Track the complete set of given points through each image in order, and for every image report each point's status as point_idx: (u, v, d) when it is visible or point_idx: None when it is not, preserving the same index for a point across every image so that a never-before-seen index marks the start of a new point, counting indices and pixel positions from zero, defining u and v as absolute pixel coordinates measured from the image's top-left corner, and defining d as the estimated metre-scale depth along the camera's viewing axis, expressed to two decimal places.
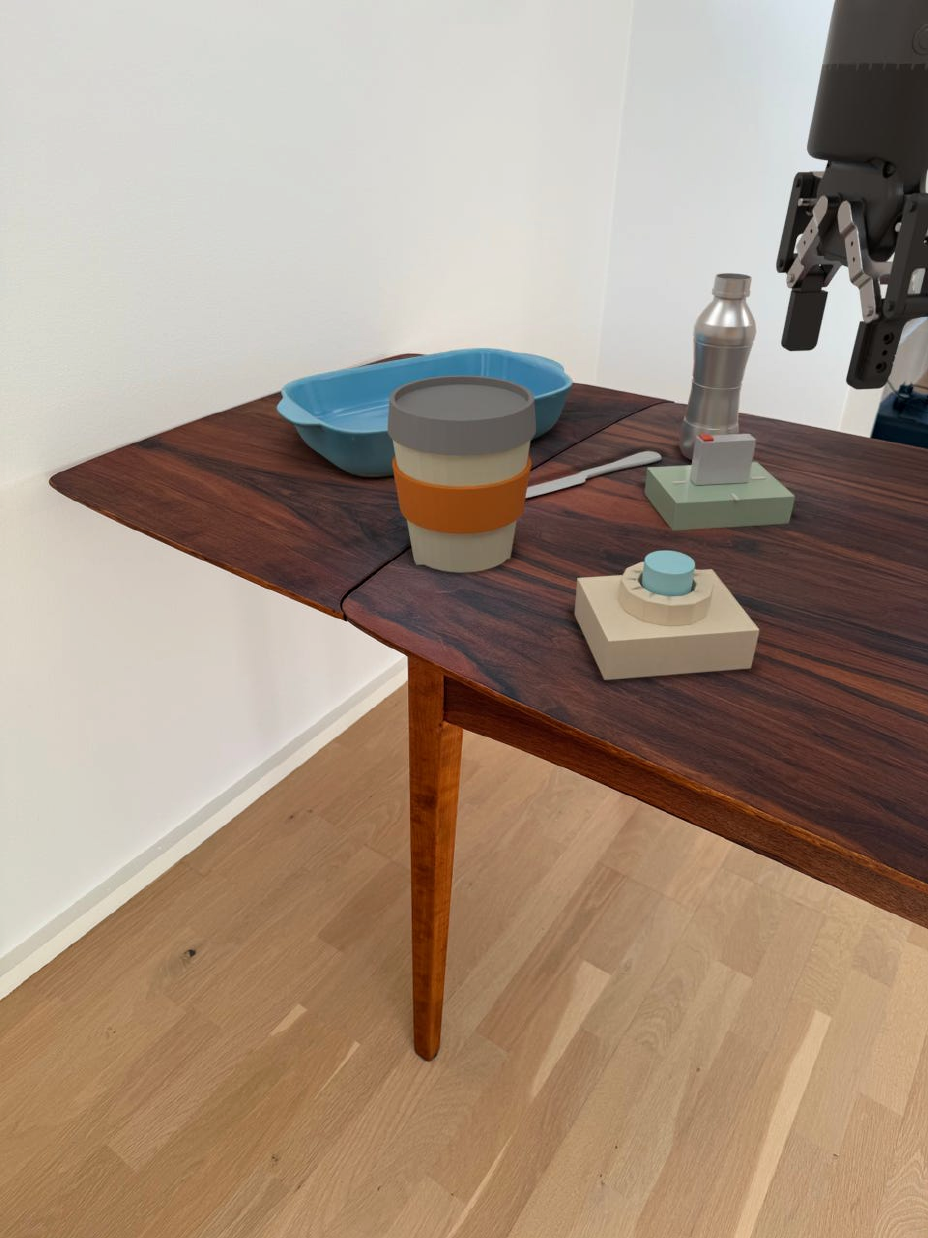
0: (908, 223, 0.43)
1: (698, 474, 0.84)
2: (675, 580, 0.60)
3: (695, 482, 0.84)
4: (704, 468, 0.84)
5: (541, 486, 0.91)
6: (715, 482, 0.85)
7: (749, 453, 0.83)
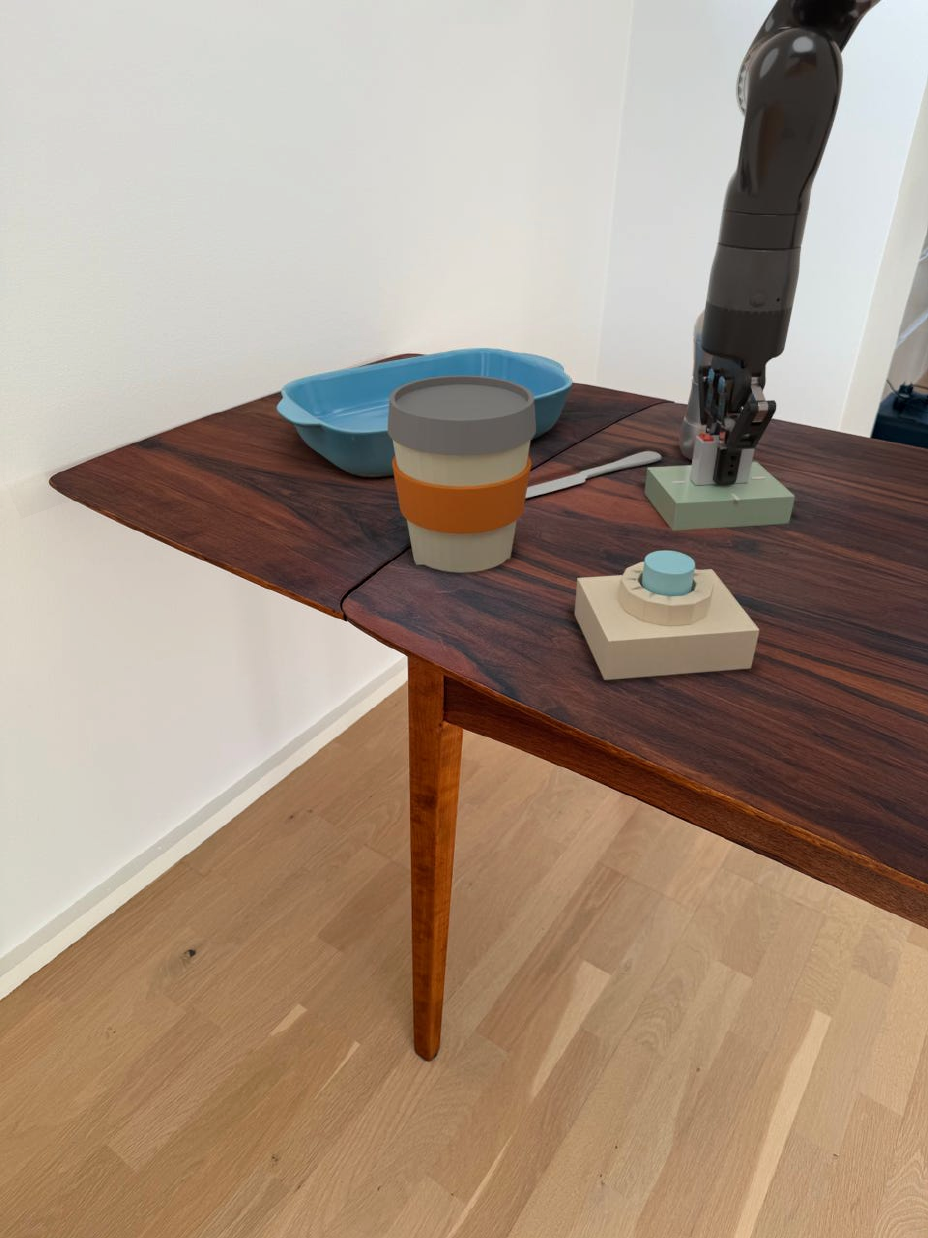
0: (744, 414, 0.76)
1: (698, 474, 0.84)
2: (675, 580, 0.60)
3: (695, 482, 0.84)
4: (704, 468, 0.84)
5: (541, 486, 0.91)
6: None
7: (749, 453, 0.83)
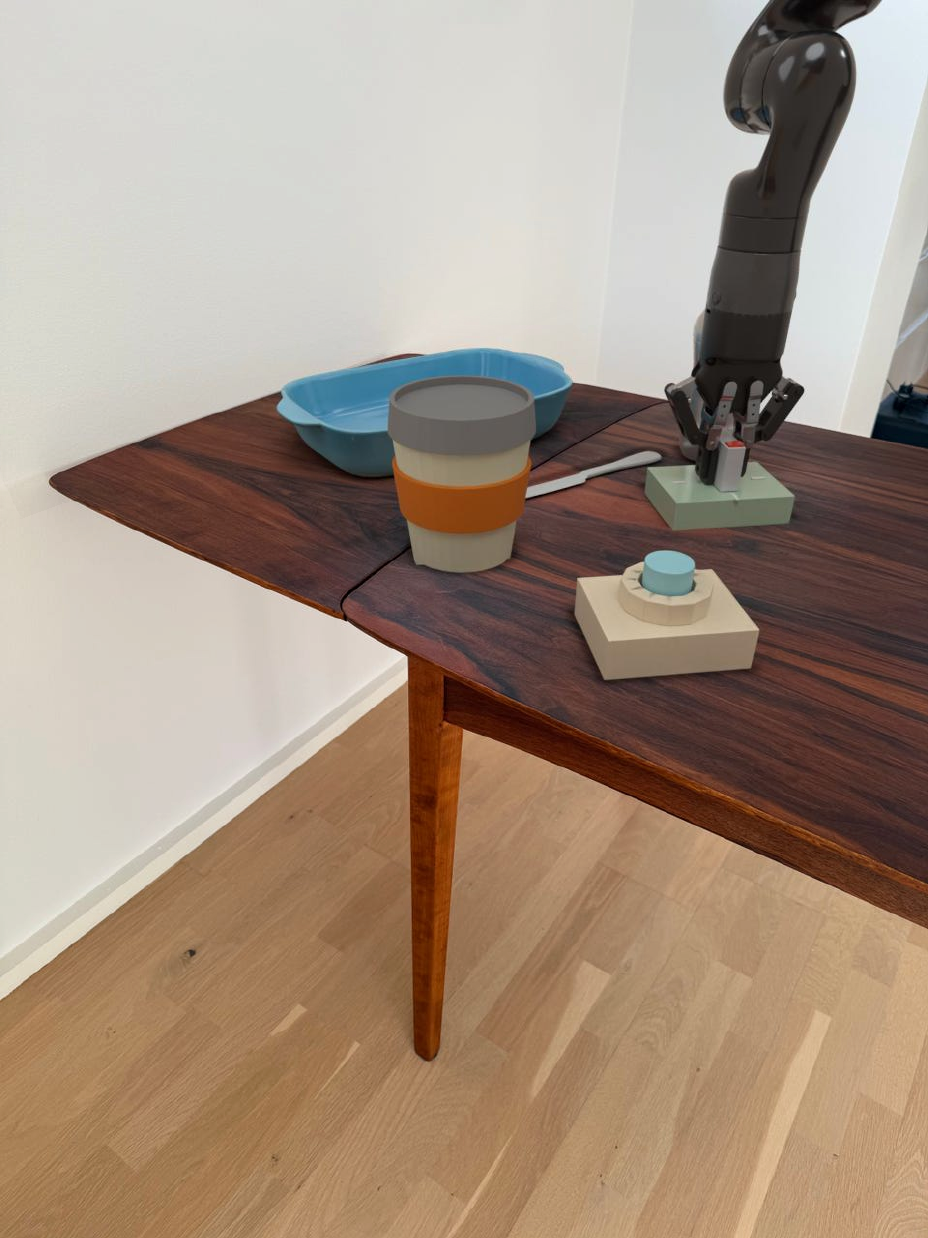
0: (793, 399, 0.81)
1: (739, 479, 0.83)
2: (675, 580, 0.60)
3: (736, 488, 0.83)
4: None
5: (541, 486, 0.91)
6: None
7: None
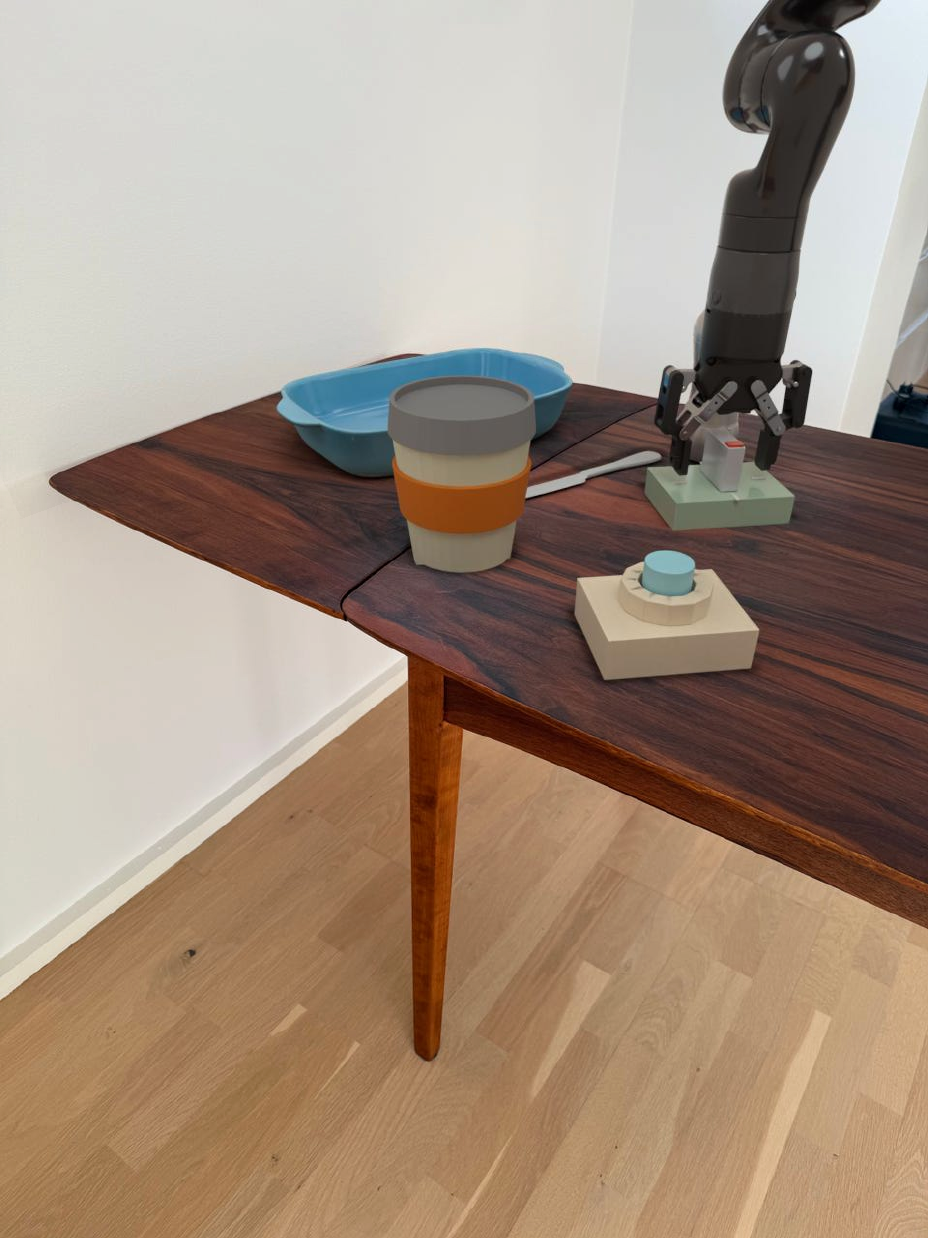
0: (805, 381, 0.80)
1: (739, 479, 0.83)
2: (675, 580, 0.60)
3: (736, 488, 0.83)
4: None
5: (541, 486, 0.91)
6: None
7: None
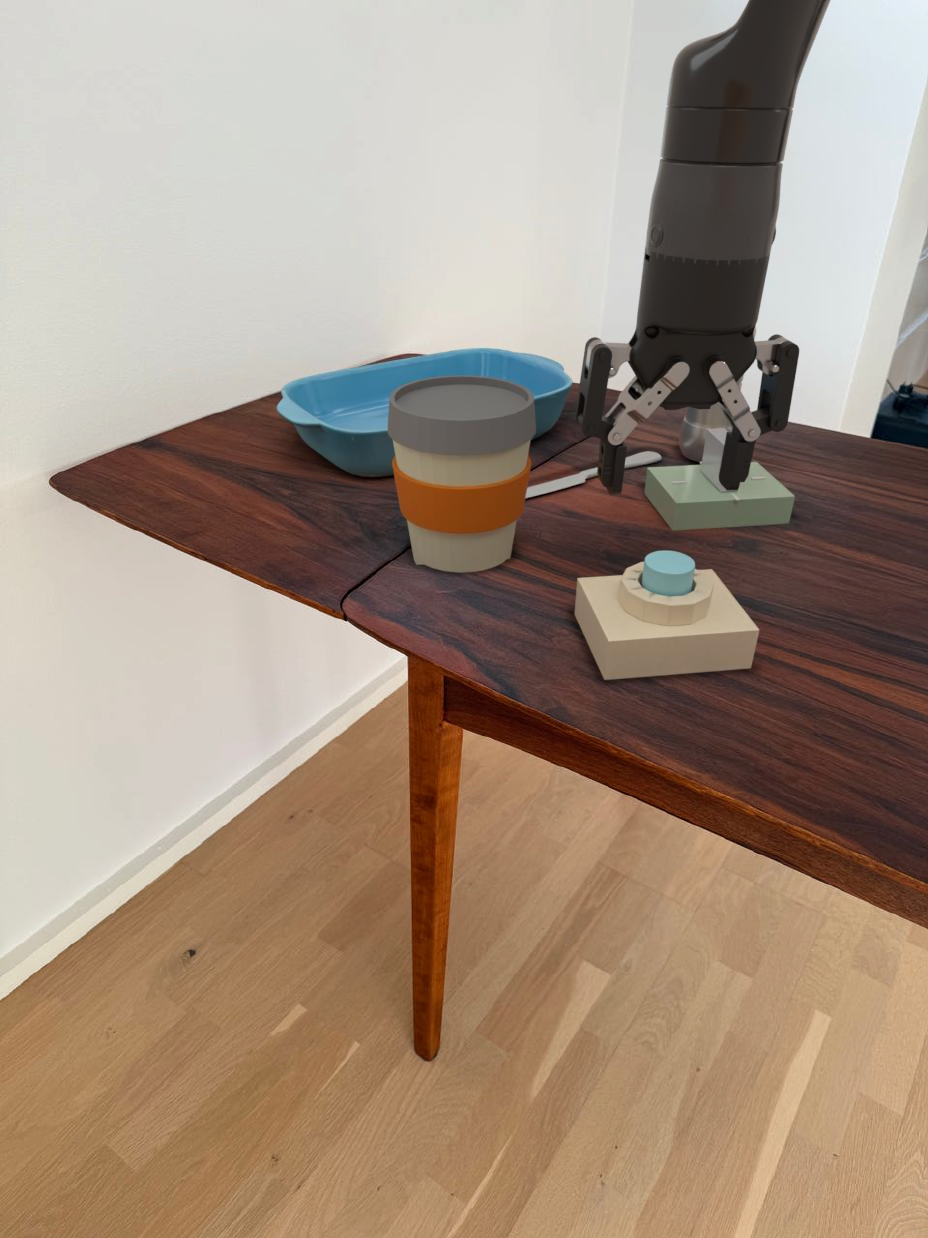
0: (789, 364, 0.56)
1: None
2: (675, 580, 0.60)
3: None
4: None
5: (541, 486, 0.91)
6: None
7: None
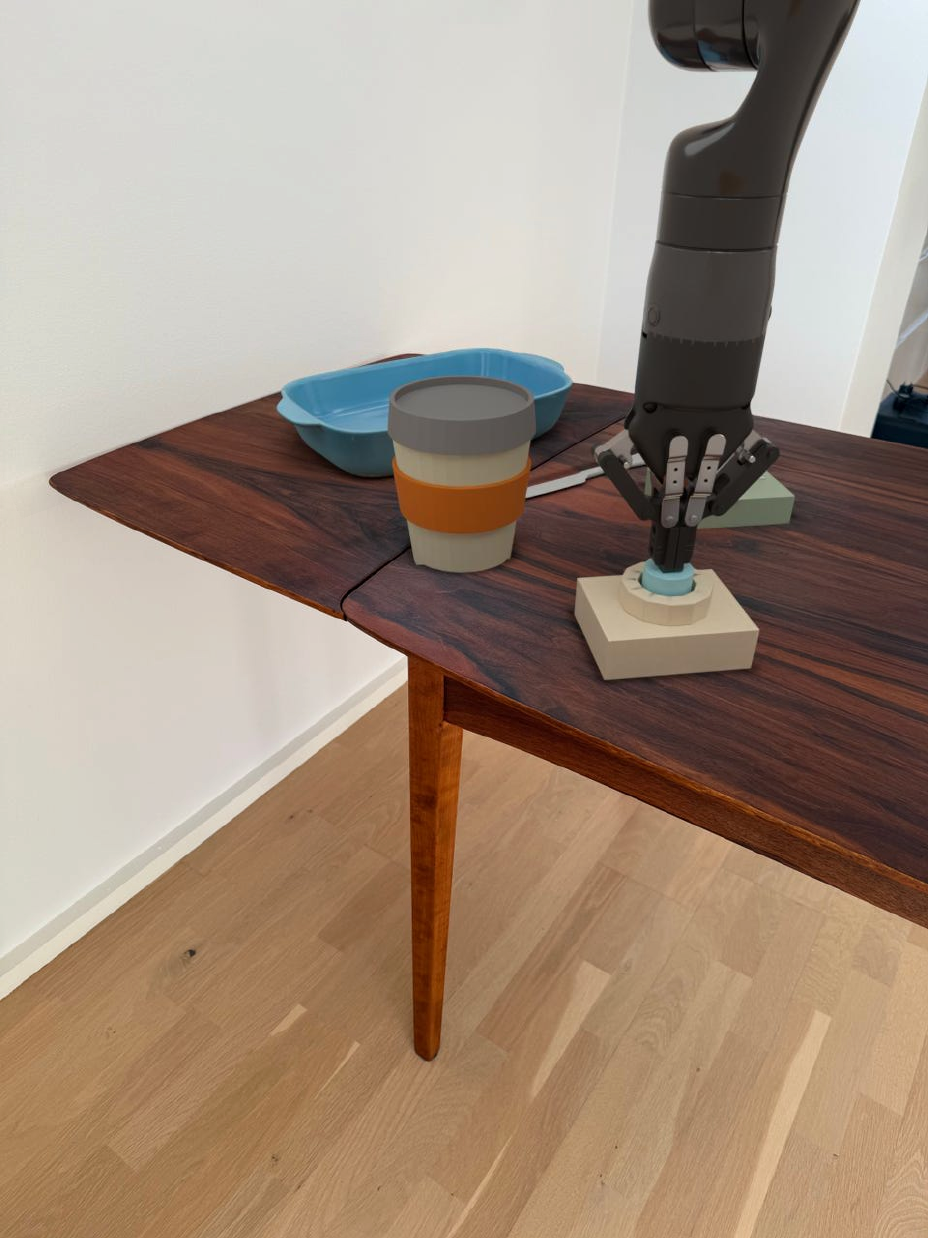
0: (762, 464, 0.57)
1: None
2: (674, 586, 0.60)
3: None
4: None
5: (541, 486, 0.91)
6: None
7: None
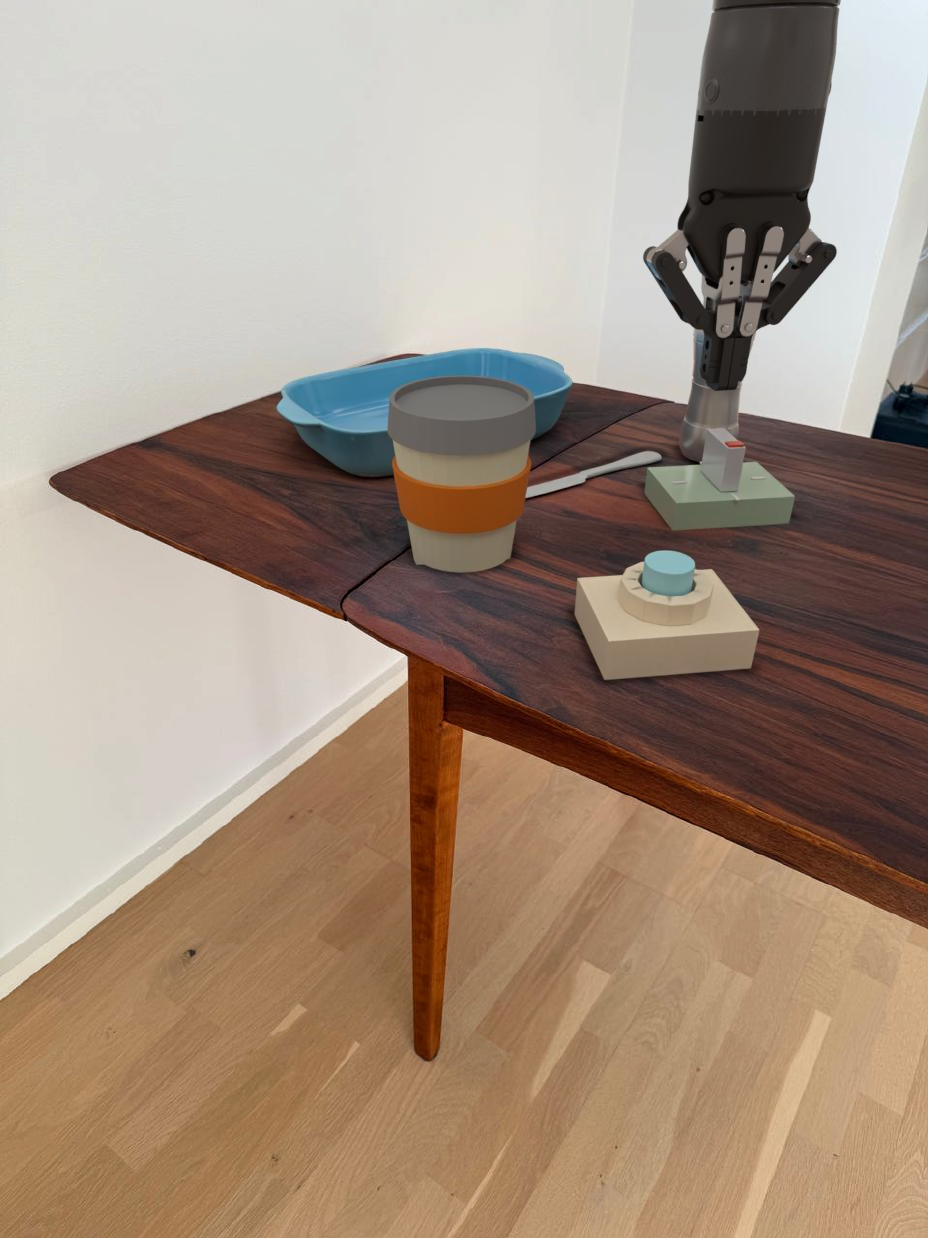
0: (819, 264, 0.56)
1: (739, 479, 0.83)
2: (675, 580, 0.60)
3: (736, 488, 0.83)
4: None
5: (541, 486, 0.91)
6: None
7: None
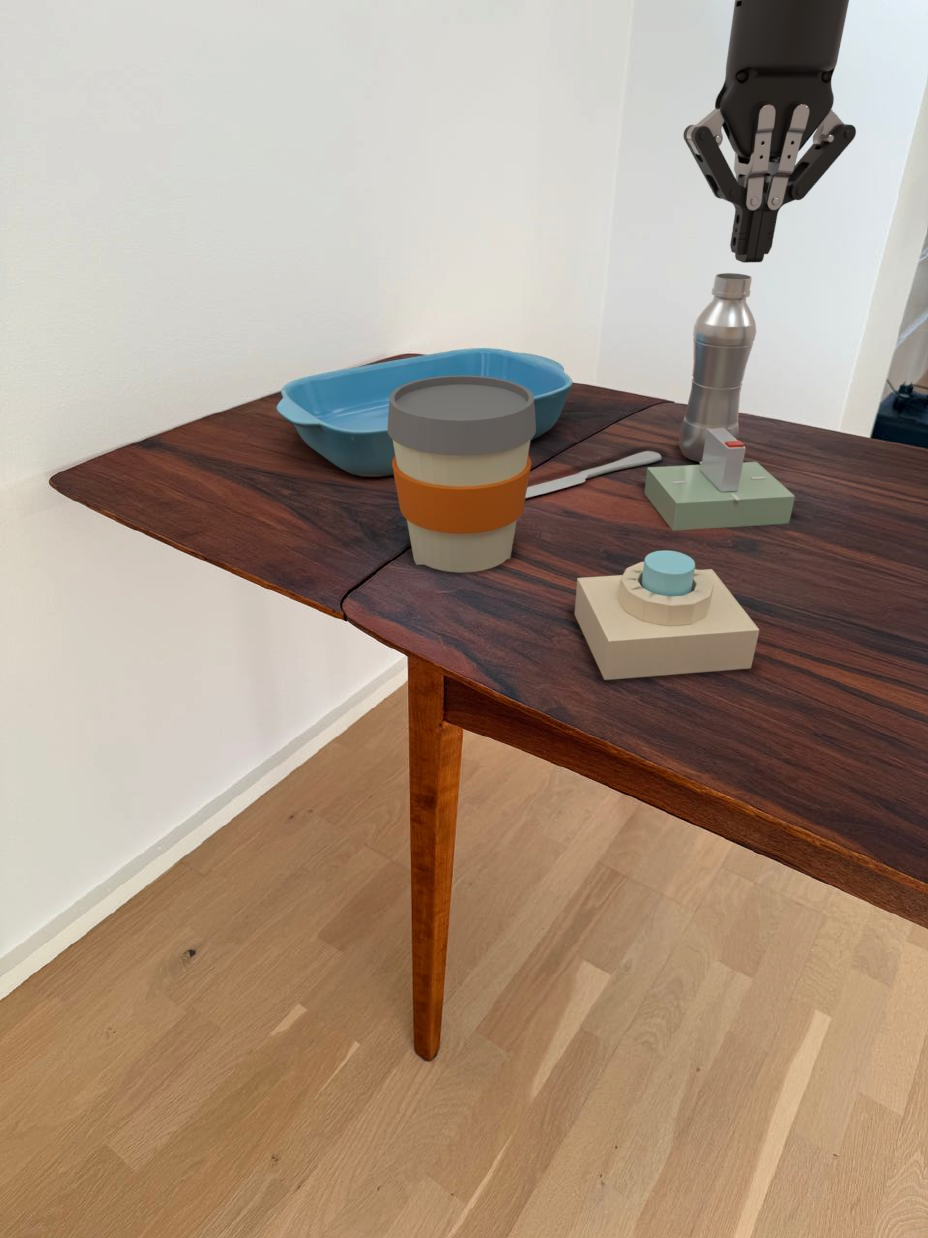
0: (840, 143, 0.63)
1: (739, 479, 0.83)
2: (675, 580, 0.60)
3: (736, 488, 0.83)
4: None
5: (541, 486, 0.91)
6: None
7: None
